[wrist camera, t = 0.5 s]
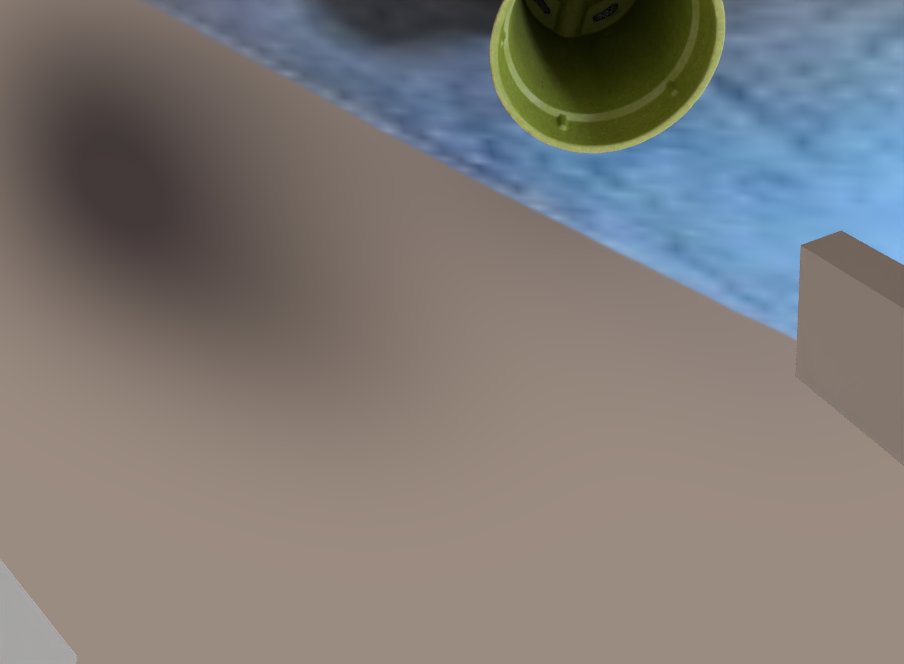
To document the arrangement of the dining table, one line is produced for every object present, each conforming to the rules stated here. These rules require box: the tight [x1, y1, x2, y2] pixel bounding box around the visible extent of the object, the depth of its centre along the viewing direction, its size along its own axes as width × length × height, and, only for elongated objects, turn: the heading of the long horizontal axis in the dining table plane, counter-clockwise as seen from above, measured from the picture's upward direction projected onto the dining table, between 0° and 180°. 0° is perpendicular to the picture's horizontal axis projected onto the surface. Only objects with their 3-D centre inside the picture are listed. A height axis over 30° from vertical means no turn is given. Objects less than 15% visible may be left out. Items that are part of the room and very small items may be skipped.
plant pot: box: [489, 0, 725, 153], centre depth 36 cm, size 9×9×9 cm
